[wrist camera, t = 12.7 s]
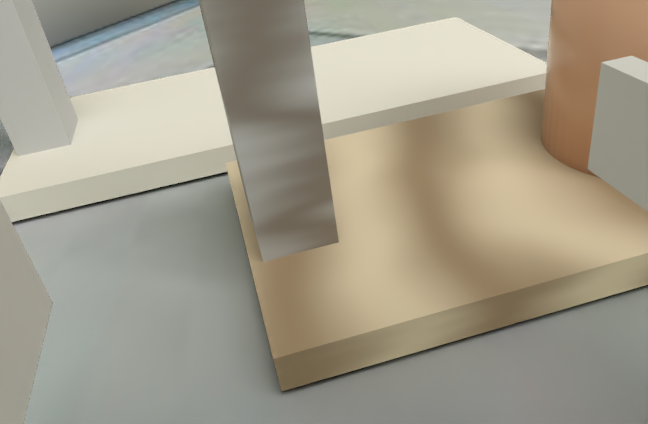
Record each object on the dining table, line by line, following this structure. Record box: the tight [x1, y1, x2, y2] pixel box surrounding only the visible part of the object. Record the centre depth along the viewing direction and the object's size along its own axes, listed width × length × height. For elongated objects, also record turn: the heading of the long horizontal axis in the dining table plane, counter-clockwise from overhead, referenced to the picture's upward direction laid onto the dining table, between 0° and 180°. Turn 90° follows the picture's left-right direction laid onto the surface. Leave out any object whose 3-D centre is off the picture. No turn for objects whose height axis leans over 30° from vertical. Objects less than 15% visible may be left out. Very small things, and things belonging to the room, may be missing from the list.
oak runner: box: [199, 0, 648, 392], centre depth 23 cm, size 32×14×14 cm, turn 104°
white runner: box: [0, 0, 547, 222], centre depth 35 cm, size 32×14×14 cm, turn 105°
